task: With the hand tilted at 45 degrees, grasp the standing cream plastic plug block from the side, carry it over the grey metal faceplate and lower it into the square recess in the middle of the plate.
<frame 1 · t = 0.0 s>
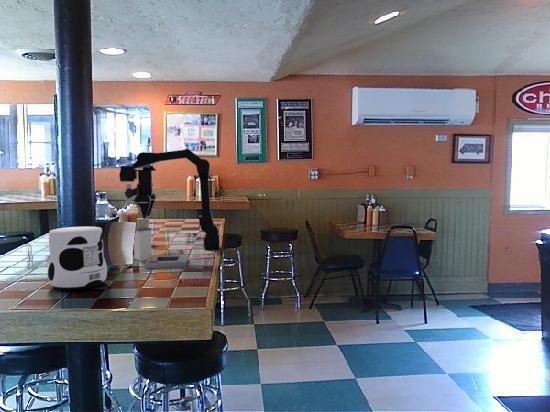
hand: (146, 217, 212), 15 cm above the table, tool pointing down, fingers open, 9 cm apart
plug: (143, 259, 195), on the table
bottle: (130, 239, 246), on the table
socket plate: (167, 263, 185), on the table
skincare box: (141, 244, 231), on the table
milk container: (78, 287, 153), on the table
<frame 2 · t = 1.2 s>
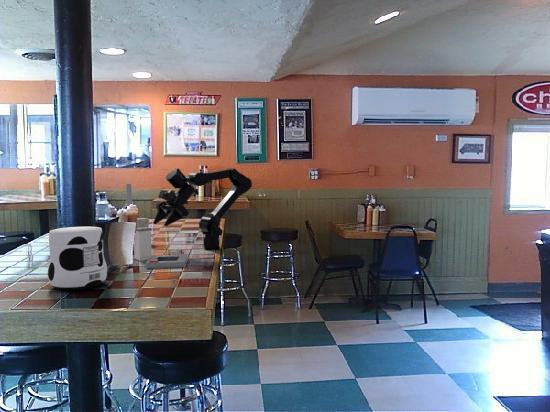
hand: (159, 224, 199), 13 cm above the table, tool tilted 45°, fingers open, 9 cm apart
nothing on the table moved.
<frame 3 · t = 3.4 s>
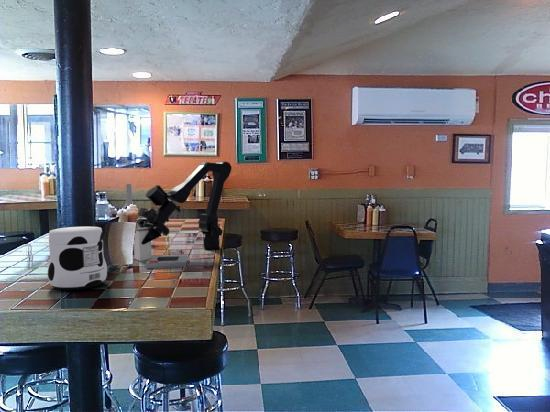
hand: (139, 243, 193), 7 cm above the table, tool tilted 45°, fingers closed on plug, 5 cm apart
plug: (143, 259, 195), on the table, touching gripper
everything else where it was.
when the fingers open (8 cm above the table, at t = 7.0 s): plug drops 1 cm, resting on socket plate.
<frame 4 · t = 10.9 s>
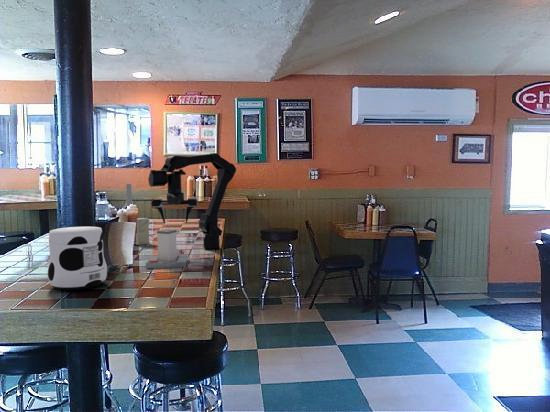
hand: (175, 222, 206), 13 cm above the table, tool pointing down, fingers open, 9 cm apart
plug: (167, 263, 185), resting on socket plate
everything else where it was.
at the end: plug inside the target area on the socket plate (0.0 cm from its centre), point 0.3 cm above the socket plate's base; plug tilted 0°; the gripper is holding nothing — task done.
